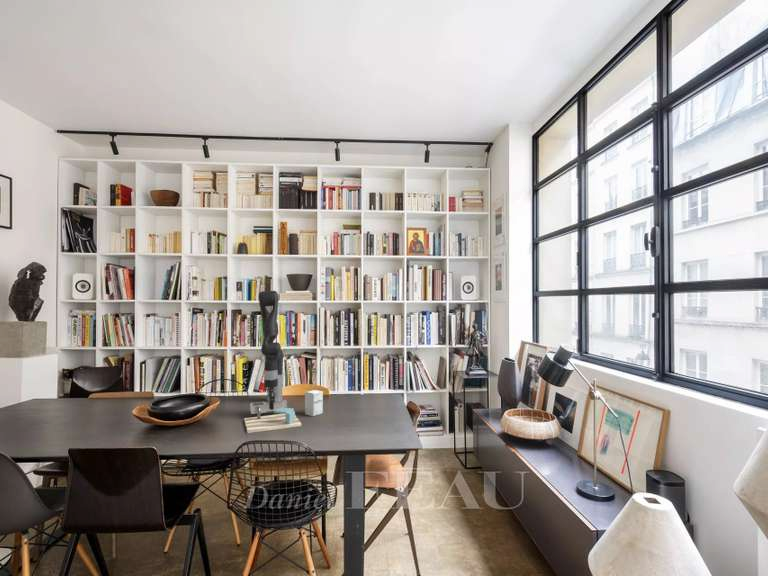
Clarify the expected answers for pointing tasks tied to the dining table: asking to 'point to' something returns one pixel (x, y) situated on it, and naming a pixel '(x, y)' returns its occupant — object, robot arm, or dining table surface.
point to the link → (267, 406)
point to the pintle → (258, 412)
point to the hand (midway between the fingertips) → (270, 408)
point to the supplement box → (313, 402)
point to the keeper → (287, 414)
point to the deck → (269, 423)
